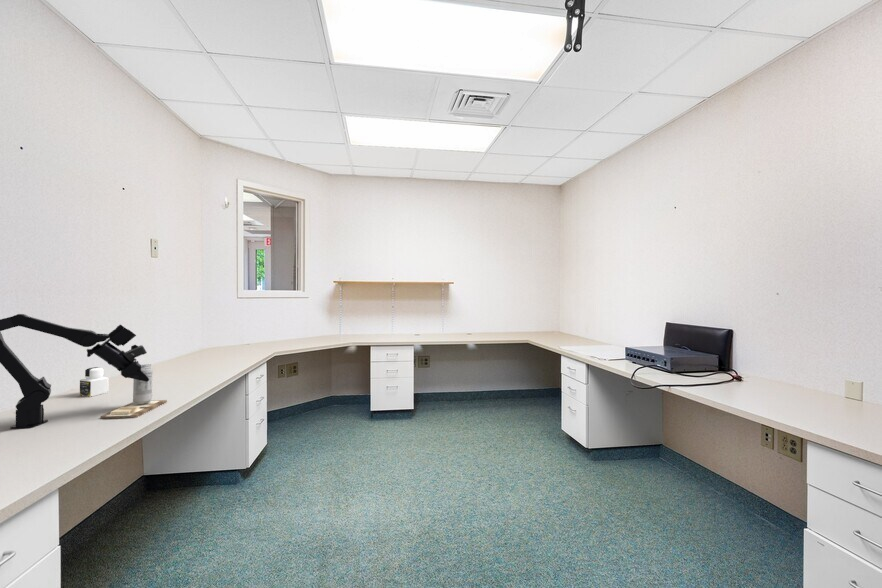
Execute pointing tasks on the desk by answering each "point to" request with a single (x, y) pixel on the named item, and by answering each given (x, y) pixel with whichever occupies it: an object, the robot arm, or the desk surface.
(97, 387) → the medicine bottle
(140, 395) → the energy drink can
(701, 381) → the desk surface
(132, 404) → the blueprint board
